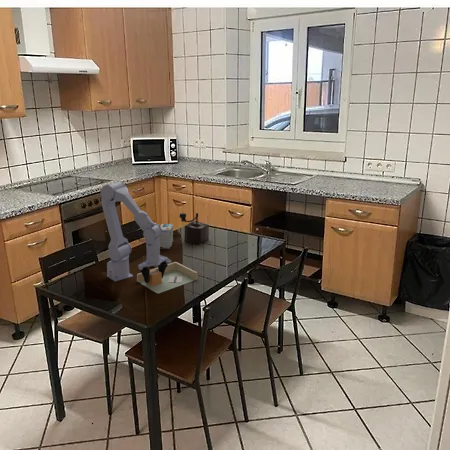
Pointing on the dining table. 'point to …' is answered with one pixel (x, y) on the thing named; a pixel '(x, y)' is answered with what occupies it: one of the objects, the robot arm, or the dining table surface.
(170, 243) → the light bulb box
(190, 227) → the pepper mill
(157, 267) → the stone block
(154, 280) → the cube
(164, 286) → the tray
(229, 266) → the dining table surface
